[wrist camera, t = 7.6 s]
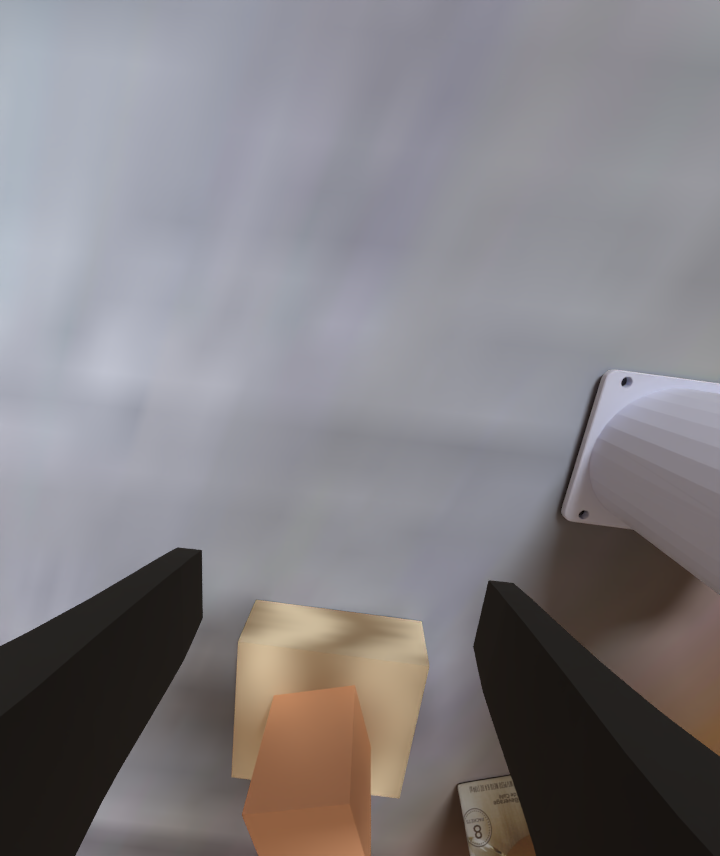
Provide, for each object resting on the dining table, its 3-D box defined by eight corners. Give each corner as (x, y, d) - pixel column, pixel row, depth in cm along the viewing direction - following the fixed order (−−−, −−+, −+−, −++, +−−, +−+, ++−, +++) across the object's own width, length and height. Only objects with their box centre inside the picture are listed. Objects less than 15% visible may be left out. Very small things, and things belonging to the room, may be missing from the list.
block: (354, 685, 19) (349, 804, 14) (370, 746, 20) (370, 875, 15) (273, 695, 20) (241, 814, 15) (293, 755, 21) (269, 884, 16)
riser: (421, 621, 22) (429, 666, 19) (395, 742, 24) (399, 798, 21) (256, 599, 22) (238, 641, 19) (248, 723, 24) (231, 777, 21)
